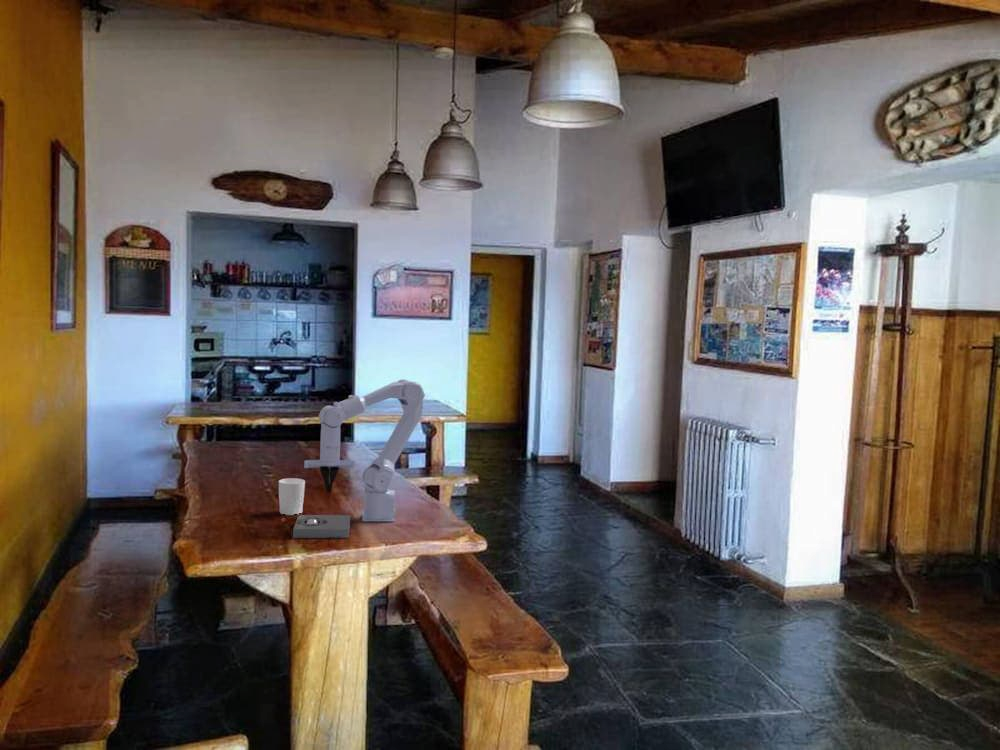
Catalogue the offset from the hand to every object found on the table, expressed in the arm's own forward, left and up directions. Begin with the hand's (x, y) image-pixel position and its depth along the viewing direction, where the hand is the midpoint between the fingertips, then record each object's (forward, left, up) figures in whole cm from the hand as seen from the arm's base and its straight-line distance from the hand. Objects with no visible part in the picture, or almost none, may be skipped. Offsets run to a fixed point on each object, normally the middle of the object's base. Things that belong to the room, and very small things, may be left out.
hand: (328, 491), depth 222 cm
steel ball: (+4, +8, -8) cm, 12 cm away
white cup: (+12, -12, -10) cm, 19 cm away
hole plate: (+1, +8, -9) cm, 12 cm away
